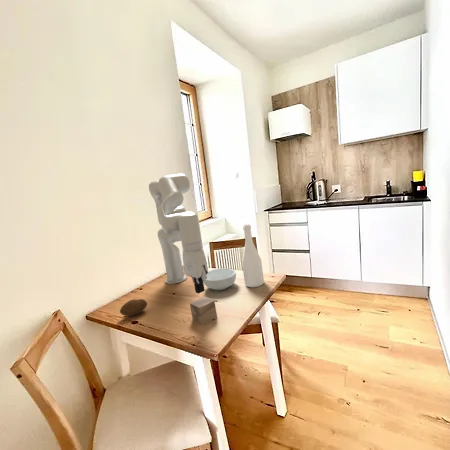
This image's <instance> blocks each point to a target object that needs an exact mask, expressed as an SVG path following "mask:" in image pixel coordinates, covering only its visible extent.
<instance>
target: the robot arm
mask: <svg viewBox="0 0 450 450" xmlns="http://www.w3.org/2000/svg"><path fill="white" fill-rule="evenodd" d="M190 188H191V183H190V179H189V177H188V176H187V175H186V174H184V173H177V174H171V175H170V174H168V175H164V176H161V177H160V178H159V179H158V180H152V181H151V182H150V183H149V184H148V190H149V193H150V195H151V198H153V200H154V203H155V207H156V214H157V221H158V224H159V225H160V226H161V228H160V229H159V230H158V231H157V237H158V241H159V244H160V247H161V251H162V255H163V257H162V258H163V261H164V266H165V272H166V273H165V275H166V278H165V279H164V282H165V283H166V284H168V285H174V284H180V283H182V282H185V280H187V279H188V277H191V279H192V282H193V285H194V286H193V287H194V290H195V292H194V293H195V294H200V293H201V294H202V293H203V292H205V284H204V280H206V279H207V276H206V275H207V274H208V271H209V270H208V269H209V268H208V267H209V266H208V263H207V259H206V254H205V252H204V247H203V240H202V234H201V229H200V222H199V217H198V216H199V215H197V213H195V212H194V211H189V210H188V211H187V210H186V208H185V207H184V206H182V204H183V202H184V195H185V194H186V193H187V192H188V191H189V190H190ZM177 242H181V247H182V256H181V251H180V248H179V247H178V246H177V245H176V244H175V243H177Z"/></svg>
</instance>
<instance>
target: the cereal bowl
mask: <svg viewBox="0 0 450 450" xmlns="http://www.w3.org/2000/svg"><path fill="white" fill-rule="evenodd" d="M206 276H207V279H206V280H204V282H203V284H204V286H206V287H207V288H209V289H211V290H215V291H222V290H226V289H227V288H229V287H231V286H232V285H233V284H234V283H235V282H236V278H237V272H236V270H234V269H231V268H225V267H223V268H222V267H221V268H216V269H211V270H208V274H207V275H206Z"/></svg>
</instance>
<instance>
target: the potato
mask: <svg viewBox="0 0 450 450" xmlns="http://www.w3.org/2000/svg"><path fill="white" fill-rule="evenodd" d="M147 305H148V302H147V301H146V300H145V299H142V298H141V299H134V298H133V299H131V300H128V301H127V302H125V303H124V304H123V305H122V306H121V307H120V309H119V310H120V311H119V313H120V314H121V315H123V316H125V317H132V316H137V315H139V314H141V313H142V312H143V311H144V310H145V309H147Z"/></svg>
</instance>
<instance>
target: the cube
mask: <svg viewBox="0 0 450 450" xmlns="http://www.w3.org/2000/svg"><path fill="white" fill-rule="evenodd" d="M215 302H216V301H215V300H214V299H212V298H209V297H208V296H207V297H206V296H204V295H203V296H202V297H199V298H198V299H197V298H196V299H195V300H193V301H191V302H190V303H189V307H190V314H191V317H192V319H191V320H193V321H195V322H197V323H198V324H201V325H203V326H205V325H206V324H207V323H210V322H211V321H213V320H214V319H216V318H217V317H218V314H217V308H216V303H215Z"/></svg>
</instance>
